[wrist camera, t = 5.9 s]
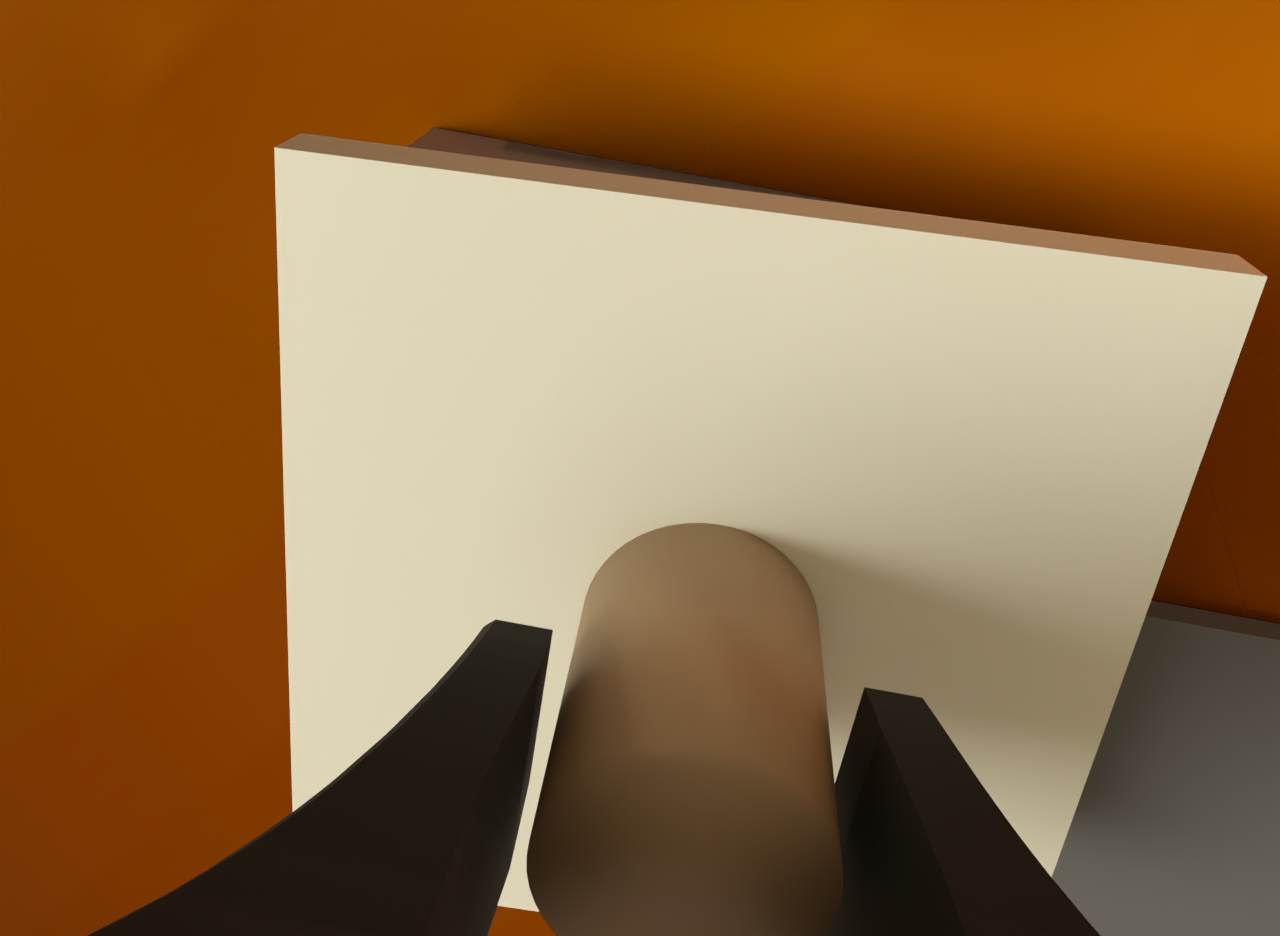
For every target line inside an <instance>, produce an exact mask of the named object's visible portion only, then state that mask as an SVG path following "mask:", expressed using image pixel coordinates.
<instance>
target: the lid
mask: <svg viewBox="0 0 1280 936" xmlns="http://www.w3.org/2000/svg"><path fill="white" fill-rule="evenodd" d="M274 151H275V187H276V224H277V260H278V297H279V333H280V370H281V406H282V443H283V479H284V516H285V552H286V589H287V625H288V662H289V698H290V735H291V771H292V808H293V812H294V811H295V810H296V809H298V808H299V807H300V806H302V805H303V804H304V803H305V802H307V801H308V800H309V799H311V798H312V797H313V796H314V795H316V794H317V793H318V792H319V791H321V790H322V789H323V788H325V787H326V786H327V785H328V784H330V783H331V782H332V781H333V780H334V779H336V778H337V777H338V776H339V775H340V774H341V773H343V772H344V771H345V770H346V769H347V768H348V767H349V766H351V765H352V764H353V763H354V762H355V761H356V760H357V759H359V758H360V757H361V756H362V755H363V754H364V753H365V752H367V751H368V750H369V749H370V748H371V747H372V746H373V745H375V744H376V743H377V742H378V741H379V740H380V739H381V738H382V737H384V736H385V735H386V734H387V733H388V732H389V731H390V730H391V729H392V728H393V727H394V726H395V725H396V724H397V723H398V722H399V721H400V720H401V719H402V718H403V717H404V716H405V715H406V714H407V713H408V712H409V711H410V710H411V709H412V708H413V707H414V706H415V705H416V704H417V703H418V702H419V701H420V700H421V699H422V698H423V697H424V696H425V695H426V694H427V693H428V692H429V691H430V690H431V689H432V688H433V687H434V686H435V685H436V684H437V682H438V681H439V680H440V679H441V678H442V677H443V676H444V675H445V674H446V673H447V671H448V670H449V669H450V668H451V667H452V666H453V665H454V664H455V662H456V661H457V660H458V659H459V658H460V657H461V655H462V654H463V653H464V652H465V650H466V649H467V648H468V647H469V645H470V644H471V643H472V642H473V640H474V639H475V638H476V636H477V635H478V634H479V632H480V631H481V629H482V628H483V627H484V626H485V625H487V624H489V623H490V622H492V621H494V620H495V619H496V620H501V621H507V622H512V623H518V624H523V625H529V626H534V627H540V628H545V629H551V630H553V633H552V639H551V646H550V652H549V659H548V665H547V671H546V678H545V684H544V691H543V697H542V704H541V710H540V717H539V723H538V729H537V736H536V742H535V749H534V755H533V762H532V768H531V774H530V781H529V786H528V790H527V794H526V799H525V803H524V808H523V812H522V817H521V821H520V826H519V830H518V835H517V839H516V844H515V848H514V852H513V857H512V861H511V866H510V869H509V872H508V875H507V878H506V881H505V884H504V887H503V890H502V893H501V896H500V899H499V902H498V905H497V906H503V907H510V908H517V909H524V910H531V911H538V912H540V914H541V915H542V917H543V918H544V920H545V921H546V922H547V924H548V925H549V927H550V928H551V929H552V930H553V932H554V933H555V934H556V935H557V936H824V934H825V933H826V932H827V930H828V929H829V927H830V925H831V923H832V922H833V920H834V918H835V916H836V913H837V910H838V908H839V905H840V902H841V896H842V890H843V865H842V855H841V845H840V834H839V824H838V814H837V804H836V794H835V782H836V778H837V775H838V772H839V768H840V765H841V762H842V759H843V755H844V752H845V749H846V746H847V742H848V739H849V736H850V733H851V729H852V726H853V723H854V720H855V716H856V713H857V710H858V706H859V703H860V700H861V697H862V693H863V690H864V687H867V688H872V689H878V690H883V691H889V692H894V693H899V694H905V695H910V696H916V697H921V698H923V699H924V701H925V702H926V703H927V705H928V706H929V708H930V709H931V710H932V712H933V713H934V715H935V716H936V718H937V719H938V721H939V722H940V724H941V725H942V727H943V728H944V730H945V731H946V733H947V734H948V736H949V737H950V739H951V740H952V741H953V743H954V744H955V746H956V747H957V749H958V750H959V752H960V753H961V755H962V756H963V758H964V759H965V761H966V762H967V764H968V765H969V766H970V768H971V769H972V771H973V772H974V774H975V775H976V777H977V778H978V779H979V781H980V782H981V784H982V785H983V787H984V788H985V790H986V791H987V792H988V794H989V795H990V797H991V798H992V799H993V801H994V802H995V804H996V805H997V806H998V808H999V809H1000V811H1001V812H1002V813H1003V815H1004V816H1005V817H1006V819H1007V820H1008V821H1009V823H1010V824H1011V826H1012V827H1013V828H1014V830H1015V831H1016V832H1017V834H1018V835H1019V836H1020V838H1021V839H1022V840H1023V842H1024V843H1025V844H1026V846H1027V847H1028V848H1029V849H1030V851H1031V852H1032V853H1033V855H1034V856H1035V857H1036V858H1037V860H1038V861H1039V862H1040V863H1041V865H1042V866H1043V867H1044V869H1045V870H1046V871H1047V872H1048V874H1049V875H1050V876H1051V877H1052V875H1053V872H1054V869H1055V866H1056V864H1057V861H1058V858H1059V855H1060V852H1061V850H1062V847H1063V844H1064V841H1065V839H1066V836H1067V833H1068V830H1069V827H1070V825H1071V822H1072V819H1073V816H1074V814H1075V811H1076V808H1077V805H1078V802H1079V800H1080V797H1081V794H1082V791H1083V789H1084V786H1085V783H1086V780H1087V777H1088V775H1089V772H1090V769H1091V766H1092V764H1093V761H1094V758H1095V755H1096V752H1097V750H1098V747H1099V744H1100V741H1101V739H1102V736H1103V733H1104V730H1105V727H1106V725H1107V722H1108V719H1109V716H1110V713H1111V711H1112V708H1113V705H1114V702H1115V700H1116V697H1117V694H1118V691H1119V688H1120V686H1121V683H1122V680H1123V677H1124V675H1125V672H1126V669H1127V666H1128V663H1129V661H1130V658H1131V655H1132V652H1133V650H1134V647H1135V644H1136V641H1137V638H1138V636H1139V633H1140V630H1141V627H1142V625H1143V622H1144V619H1145V616H1146V613H1147V611H1148V608H1149V605H1150V602H1151V600H1152V597H1153V594H1154V591H1155V588H1156V586H1157V583H1158V580H1159V577H1160V574H1161V572H1162V569H1163V566H1164V563H1165V561H1166V558H1167V555H1168V552H1169V549H1170V547H1171V544H1172V541H1173V538H1174V536H1175V533H1176V530H1177V527H1178V524H1179V522H1180V519H1181V516H1182V513H1183V511H1184V508H1185V505H1186V502H1187V499H1188V497H1189V494H1190V491H1191V488H1192V486H1193V483H1194V480H1195V477H1196V474H1197V472H1198V469H1199V466H1200V463H1201V460H1202V458H1203V455H1204V452H1205V449H1206V447H1207V444H1208V441H1209V438H1210V435H1211V433H1212V430H1213V427H1214V424H1215V422H1216V419H1217V416H1218V413H1219V410H1220V408H1221V405H1222V402H1223V399H1224V397H1225V394H1226V391H1227V388H1228V385H1229V383H1230V380H1231V377H1232V374H1233V372H1234V369H1235V366H1236V363H1237V360H1238V358H1239V355H1240V352H1241V349H1242V347H1243V344H1244V341H1245V338H1246V335H1247V333H1248V330H1249V327H1250V324H1251V321H1252V319H1253V316H1254V313H1255V310H1256V308H1257V305H1258V302H1259V299H1260V296H1261V294H1262V291H1263V288H1264V285H1265V283H1266V280H1267V276H1266V275H1265V274H1263V273H1262V272H1260V271H1259V270H1258V269H1256V268H1255V267H1254V266H1252V265H1251V264H1250V263H1248V262H1247V261H1245V260H1244V259H1243V258H1241V257H1240V256H1239V255H1236V254H1229V253H1221V252H1213V251H1206V250H1198V249H1190V248H1182V247H1175V246H1167V245H1159V244H1152V243H1144V242H1136V241H1128V240H1121V239H1113V238H1105V237H1098V236H1090V235H1082V234H1074V233H1067V232H1059V231H1051V230H1044V229H1036V228H1028V227H1021V226H1013V225H1005V224H997V223H990V222H982V221H974V220H967V219H959V218H951V217H943V216H936V215H928V214H920V213H913V212H905V211H897V210H890V209H882V208H874V207H866V206H859V205H851V204H843V203H836V202H828V201H820V200H812V199H805V198H797V197H789V196H782V195H774V194H766V193H759V192H751V191H743V190H735V189H728V188H720V187H712V186H705V185H697V184H689V183H681V182H674V181H666V180H658V179H651V178H643V177H635V176H628V175H620V174H612V173H604V172H597V171H589V170H581V169H574V168H566V167H558V166H550V165H543V164H535V163H527V162H520V161H512V160H504V159H496V158H489V157H481V156H473V155H466V154H458V153H450V152H443V151H435V150H427V149H419V148H412V147H404V146H396V145H389V144H381V143H373V142H365V141H358V140H350V139H342V138H335V137H327V136H319V135H312V134H304V133H301V134H299V135H297V136H295V137H293V138H291V139H289V140H288V141H286V142H284V143H282V144H280V145H278V146H276V147H274Z"/></svg>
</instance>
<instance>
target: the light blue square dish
mask: <svg viewBox="0 0 1280 936" xmlns="http://www.w3.org/2000/svg"><path fill="white" fill-rule="evenodd" d="M408 147H412V148H419V149H427V150H435V151H443V152H450V153H458V154H466V155H473V156H481V157H489V158H496V159H504V160H512V161H520V162H527V163H535V164H543V165H550V166H558V167H566V168H574V169H581V170H589V171H597V172H604V173H612V174H620V175H628V176H635V177H643V178H651V179H658V180H666V181H674V182H681V183H689V184H697V185H705V186H712V187H720V188H728V189H735V190H743V191H751V192H759V193H766V194H774V195H782V196H789V197H797V198H805V199H812V200H820V201H828V202H836V203H843V204H851V203H845V202H840V201H834V200H829V199H824V198H818V197H813V196H807V195H802V194H796V193H791V192H785V191H780V190H774V189H769V188H763V187H758V186H752V185H747V184H741V183H736V182H730V181H725V180H719V179H714V178H708V177H703V176H697V175H692V174H686V173H681V172H676V171H670V170H665V169H659V168H654V167H648V166H643V165H637V164H632V163H626V162H621V161H615V160H610V159H604V158H599V157H593V156H588V155H582V154H577V153H571V152H566V151H560V150H555V149H549V148H544V147H539V146H533V145H528V144H522V143H517V142H511V141H506V140H500V139H495V138H489V137H484V136H478V135H473V134H467V133H462V132H456V131H451V130H445V129H440V128H432V129H431V130H430V131H428V132H427V133H426V134H424V135H423V136H422V137H420V138H419V139H418V140H416V141H415V142H414V143H412V144H411V145H409V146H408ZM851 205H856V204H851ZM859 206H862V205H859ZM866 207H867V206H866Z"/></svg>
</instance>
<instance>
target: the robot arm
mask: <svg viewBox="0 0 1280 936" xmlns="http://www.w3.org/2000/svg"><path fill="white" fill-rule="evenodd" d="M552 633H553V630H551V629H545V628H540V627H534V626H529V625H523V624H518V623H512V622H507V621H501V620H496V619H495V620H494V621H492V622H490V623H489V624H487V625H485V626H484V627H483V628H482V629H481V631H480V632H479V634H478V635H477V636H476V638H475V639H474V640H473V642H472V643H471V644H470V645H469V647H468V648H467V649H466V650H465V652H464V653H463V654H462V655H461V657H460V658H459V659H458V660H457V661H456V662H455V664H454V665H453V666H452V667H451V668H450V669H449V670H448V671H447V673H446V674H445V675H444V676H443V677H442V678H441V679H440V680H439V681H438V682H437V684H436V685H435V686H434V687H433V688H432V689H431V690H430V691H429V692H428V693H427V694H426V695H425V696H424V697H423V698H422V699H421V700H420V701H419V702H418V703H417V704H416V705H415V706H414V707H413V708H412V709H411V710H410V711H409V712H408V713H407V714H406V715H405V716H404V717H403V718H402V719H401V720H400V721H399V722H398V723H397V724H396V725H395V726H394V727H393V728H392V729H391V730H390V731H389V732H388V733H387V734H386V735H385V736H384V737H382V738H381V739H380V740H379V741H378V742H377V743H376V744H375V745H373V746H372V747H371V748H370V749H369V750H368V751H367V752H365V753H364V754H363V755H362V756H361V757H360V758H359V759H357V760H356V761H355V762H354V763H353V764H352V765H351V766H349V767H348V768H347V769H346V770H345V771H344V772H343V773H341V774H340V775H339V776H338V777H337V778H336V779H334V780H333V781H332V782H331V783H330V784H328V785H327V786H326V787H325V788H323V789H322V790H321V791H319V792H318V793H317V794H316V795H314V796H313V797H312V798H311V799H309V800H308V801H307V802H305V803H304V804H303V805H302V806H300V807H299V808H298V809H296V810H295V811H294V812H292V813H291V814H289V815H288V816H287V817H285V818H284V819H282V820H281V821H280V822H278V823H277V824H276V825H274V826H273V827H271V828H270V829H269V830H267V831H266V832H264V833H263V834H262V835H260V836H259V837H257V838H256V839H254V840H253V841H251V842H250V843H248V844H247V845H245V846H243V847H242V848H240V849H239V850H237V851H236V852H234V853H233V854H231V855H229V856H228V857H226V858H225V859H223V860H222V861H220V862H219V863H217V864H216V865H214V866H212V867H211V868H209V869H208V870H206V871H205V872H203V873H201V874H200V875H198V876H196V877H195V878H193V879H191V880H190V881H188V882H186V883H185V884H183V885H181V886H180V887H178V888H176V889H175V890H173V891H171V892H169V893H168V894H166V895H164V896H162V897H160V898H159V899H157V900H155V901H153V902H151V903H149V904H147V905H145V906H143V907H141V908H140V909H138V910H136V911H134V912H132V913H130V914H128V915H126V916H124V917H122V918H120V919H119V920H117V921H115V922H113V923H111V924H109V925H107V926H105V927H103V928H101V929H99V930H98V931H96V932H94V933H92V934H90V935H88V936H487V934H488V931H489V929H490V926H491V923H492V920H493V917H494V914H495V911H496V908H497V905H498V902H499V899H500V896H501V893H502V890H503V887H504V884H505V881H506V878H507V875H508V872H509V869H510V866H511V861H512V857H513V852H514V848H515V844H516V839H517V835H518V830H519V826H520V821H521V817H522V812H523V808H524V803H525V799H526V794H527V790H528V786H529V781H530V774H531V768H532V762H533V755H534V749H535V742H536V736H537V729H538V723H539V717H540V710H541V704H542V697H543V691H544V684H545V678H546V671H547V665H548V659H549V652H550V646H551V639H552ZM835 794H836V804H837V814H838V824H839V834H840V845H841V855H842V865H843V890H842V896H841V902H840V905H839V908H838V910H837V913H836V916H835V918H834V920H833V922H832V923H831V925H830V927H829V929H828V930H827V932H826V933H825V934H824V936H1101V935H1100V934H1099V933H1098V932H1097V931H1096V930H1095V929H1094V928H1093V926H1092V925H1091V924H1090V923H1089V922H1088V921H1087V919H1086V918H1085V917H1084V916H1083V915H1082V913H1081V912H1080V911H1079V910H1078V909H1077V907H1076V906H1075V905H1074V904H1073V903H1072V901H1071V900H1070V899H1069V898H1068V897H1067V895H1066V894H1065V893H1064V892H1063V891H1062V889H1061V888H1060V887H1059V886H1058V885H1057V883H1056V882H1055V881H1054V880H1053V879H1052V877H1051V876H1050V875H1049V874H1048V872H1047V871H1046V870H1045V869H1044V867H1043V866H1042V865H1041V863H1040V862H1039V861H1038V860H1037V858H1036V857H1035V856H1034V855H1033V853H1032V852H1031V851H1030V849H1029V848H1028V847H1027V846H1026V844H1025V843H1024V842H1023V840H1022V839H1021V838H1020V836H1019V835H1018V834H1017V832H1016V831H1015V830H1014V828H1013V827H1012V826H1011V824H1010V823H1009V821H1008V820H1007V819H1006V817H1005V816H1004V815H1003V813H1002V812H1001V811H1000V809H999V808H998V806H997V805H996V804H995V802H994V801H993V799H992V798H991V797H990V795H989V794H988V792H987V791H986V790H985V788H984V787H983V785H982V784H981V782H980V781H979V779H978V778H977V777H976V775H975V774H974V772H973V771H972V769H971V768H970V766H969V765H968V764H967V762H966V761H965V759H964V758H963V756H962V755H961V753H960V752H959V750H958V749H957V747H956V746H955V744H954V743H953V741H952V740H951V739H950V737H949V736H948V734H947V733H946V731H945V730H944V728H943V727H942V725H941V724H940V722H939V721H938V719H937V718H936V716H935V715H934V713H933V712H932V710H931V709H930V708H929V706H928V705H927V703H926V702H925V701H924V699H923V698H921V697H916V696H910V695H905V694H899V693H894V692H889V691H883V690H878V689H872V688H867V687H864V690H863V693H862V697H861V700H860V703H859V706H858V710H857V713H856V716H855V720H854V723H853V726H852V729H851V733H850V736H849V739H848V742H847V746H846V749H845V752H844V755H843V759H842V762H841V765H840V768H839V772H838V775H837V778H836V782H835Z"/></svg>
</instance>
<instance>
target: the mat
mask: <svg viewBox="0 0 1280 936" xmlns="http://www.w3.org/2000/svg"><path fill="white" fill-rule="evenodd" d="M1052 879H1053V880H1054V881H1055V882H1056V883H1057V885H1058V886H1059V887H1060V888H1061V889H1062V891H1063V892H1064V893H1065V894H1066V895H1067V897H1068V898H1069V899H1070V900H1071V901H1072V903H1073V904H1074V905H1075V906H1076V907H1077V909H1078V910H1079V911H1080V912H1081V913H1082V915H1083V916H1084V917H1085V918H1086V919H1087V921H1088V922H1089V923H1090V924H1091V925H1092V926H1093V928H1094V929H1095V930H1096V931H1097V932H1098V933H1099V934H1100V935H1101V936H1280V624H1278V623H1272V622H1267V621H1261V620H1256V619H1250V618H1245V617H1239V616H1234V615H1228V614H1223V613H1217V612H1212V611H1207V610H1201V609H1196V608H1190V607H1185V606H1179V605H1174V604H1168V603H1163V602H1157V601H1152V600H1151V602H1150V605H1149V608H1148V611H1147V613H1146V616H1145V619H1144V622H1143V625H1142V627H1141V630H1140V633H1139V636H1138V638H1137V641H1136V644H1135V647H1134V650H1133V652H1132V655H1131V658H1130V661H1129V663H1128V666H1127V669H1126V672H1125V675H1124V677H1123V680H1122V683H1121V686H1120V688H1119V691H1118V694H1117V697H1116V700H1115V702H1114V705H1113V708H1112V711H1111V713H1110V716H1109V719H1108V722H1107V725H1106V727H1105V730H1104V733H1103V736H1102V739H1101V741H1100V744H1099V747H1098V750H1097V752H1096V755H1095V758H1094V761H1093V764H1092V766H1091V769H1090V772H1089V775H1088V777H1087V780H1086V783H1085V786H1084V789H1083V791H1082V794H1081V797H1080V800H1079V802H1078V805H1077V808H1076V811H1075V814H1074V816H1073V819H1072V822H1071V825H1070V827H1069V830H1068V833H1067V836H1066V839H1065V841H1064V844H1063V847H1062V850H1061V852H1060V855H1059V858H1058V861H1057V864H1056V866H1055V869H1054V872H1053V875H1052Z"/></svg>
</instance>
